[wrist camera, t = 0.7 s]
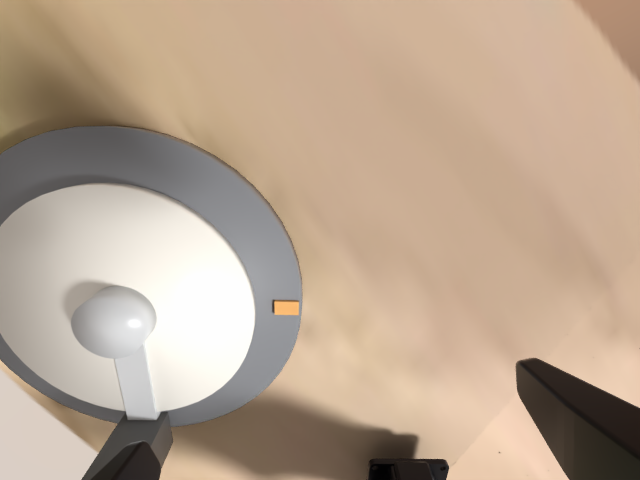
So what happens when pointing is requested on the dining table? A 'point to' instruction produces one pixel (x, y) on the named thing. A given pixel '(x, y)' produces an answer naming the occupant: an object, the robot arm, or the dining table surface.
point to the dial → (124, 304)
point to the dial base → (200, 195)
